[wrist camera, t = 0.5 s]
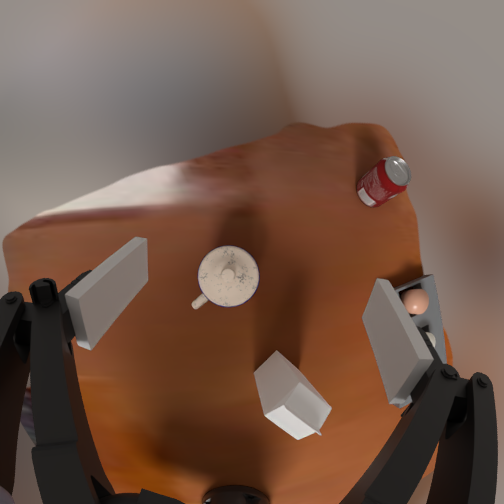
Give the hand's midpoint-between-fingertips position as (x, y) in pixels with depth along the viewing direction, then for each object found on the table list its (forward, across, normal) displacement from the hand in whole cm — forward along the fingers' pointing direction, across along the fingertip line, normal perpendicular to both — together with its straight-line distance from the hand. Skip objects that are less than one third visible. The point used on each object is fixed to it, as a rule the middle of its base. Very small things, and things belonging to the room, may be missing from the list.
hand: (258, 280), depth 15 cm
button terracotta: (+31, -30, +17) cm, 47 cm away
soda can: (+43, -20, 0) cm, 47 cm away
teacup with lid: (+29, +6, +18) cm, 35 cm away
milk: (+23, -6, +31) cm, 39 cm away
